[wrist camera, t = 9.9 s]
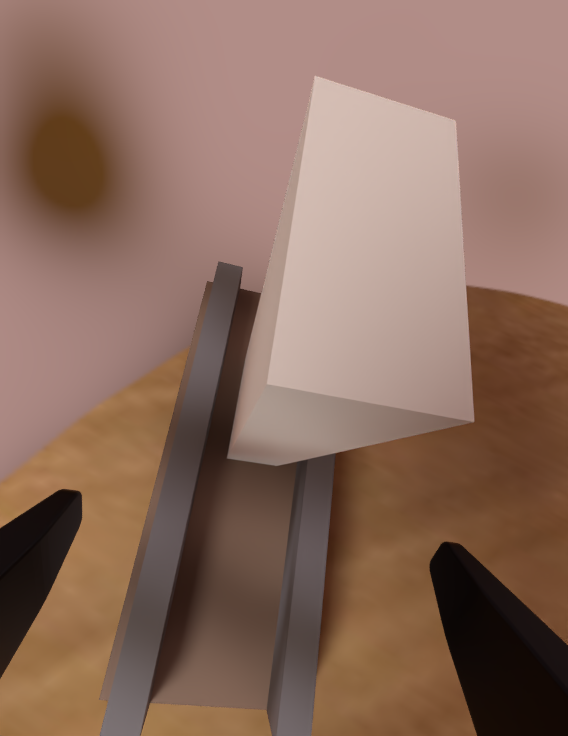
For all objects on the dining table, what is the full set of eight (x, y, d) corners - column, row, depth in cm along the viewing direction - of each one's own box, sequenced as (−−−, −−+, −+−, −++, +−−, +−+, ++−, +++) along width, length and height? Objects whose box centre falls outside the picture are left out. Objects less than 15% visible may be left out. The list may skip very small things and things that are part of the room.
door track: (302, 690, 15) (327, 750, 11) (111, 676, 14) (78, 739, 10) (337, 324, 21) (360, 295, 17) (207, 295, 20) (206, 258, 16)
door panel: (277, 465, 16) (474, 421, 4) (226, 458, 16) (267, 384, 3) (290, 367, 18) (456, 120, 5) (245, 359, 17) (315, 75, 5)
